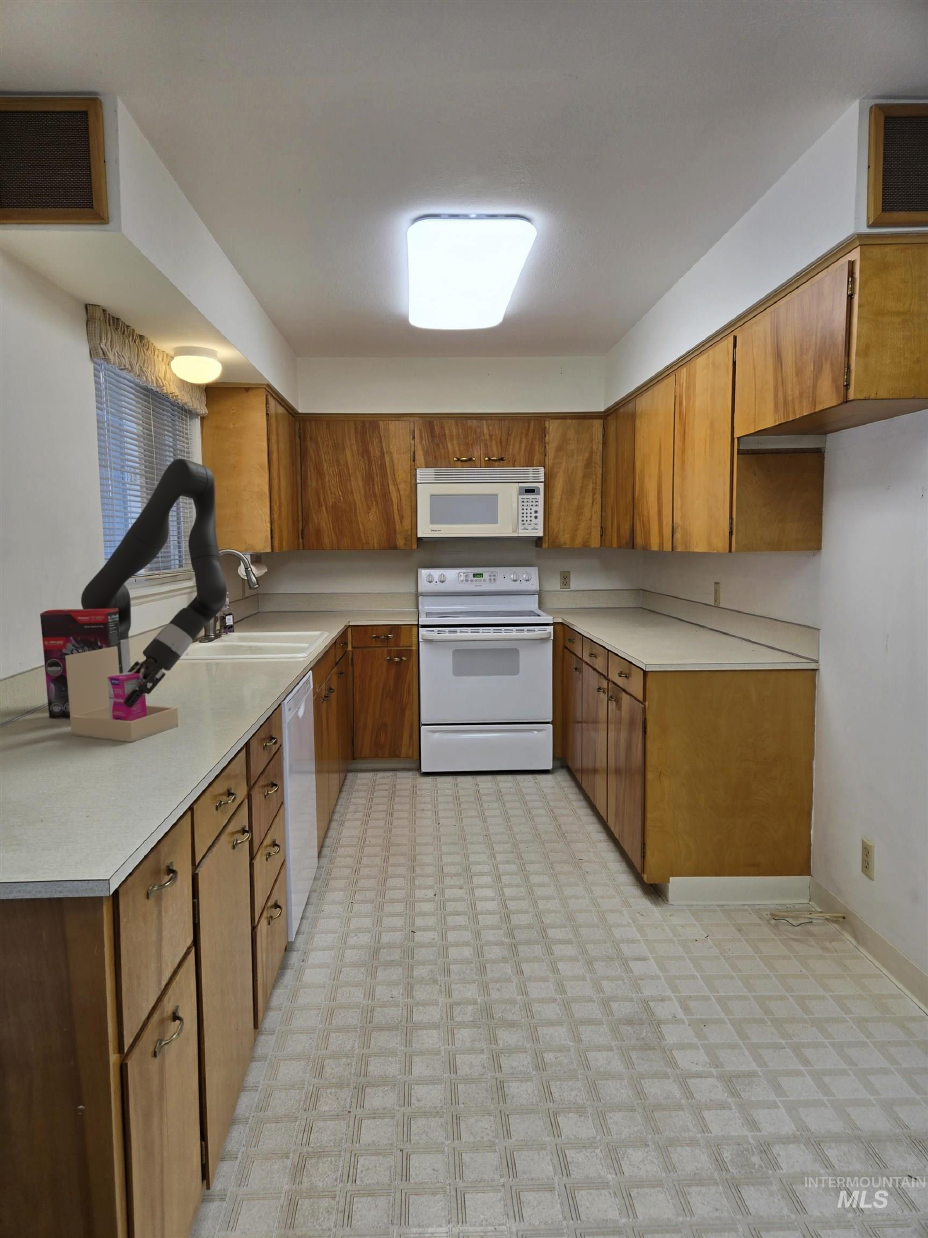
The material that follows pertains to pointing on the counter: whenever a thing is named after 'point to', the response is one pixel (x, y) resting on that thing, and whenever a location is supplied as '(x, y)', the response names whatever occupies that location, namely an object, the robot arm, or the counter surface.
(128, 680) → the supplement box
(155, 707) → the mailer box
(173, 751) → the counter surface
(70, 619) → the graphics card box
